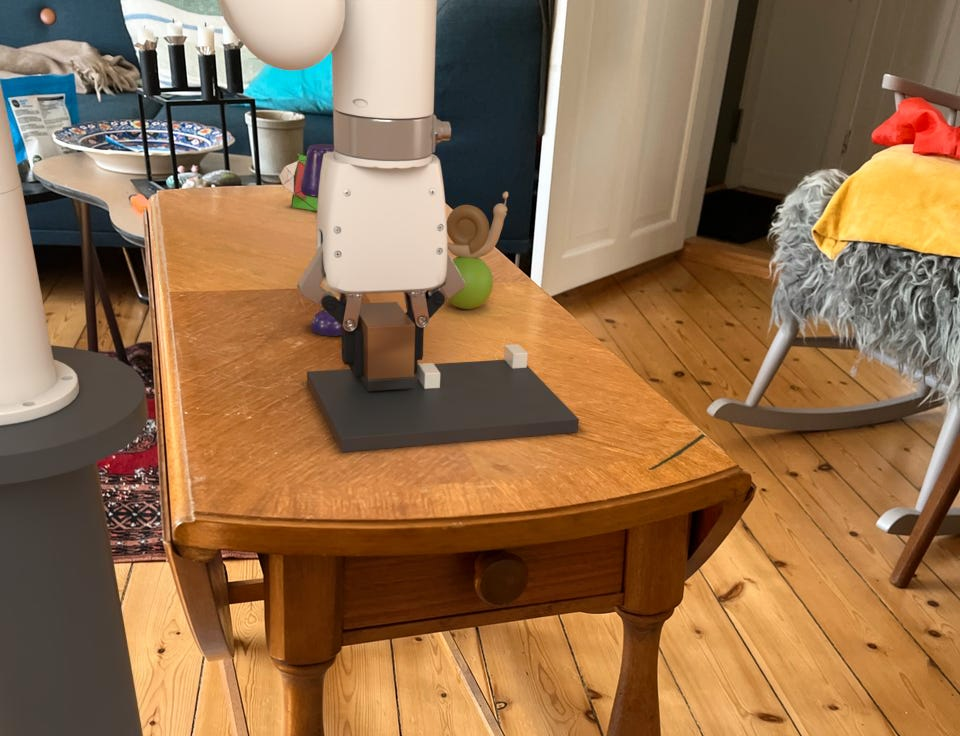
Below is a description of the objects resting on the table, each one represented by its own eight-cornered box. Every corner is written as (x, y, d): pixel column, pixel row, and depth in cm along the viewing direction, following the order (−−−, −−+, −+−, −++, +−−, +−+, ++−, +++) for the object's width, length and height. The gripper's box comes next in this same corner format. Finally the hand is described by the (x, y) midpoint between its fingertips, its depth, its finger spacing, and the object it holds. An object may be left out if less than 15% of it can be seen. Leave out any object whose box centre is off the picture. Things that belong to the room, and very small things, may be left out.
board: (341, 452, 80) (340, 438, 79) (307, 384, 91) (306, 371, 90) (577, 432, 86) (579, 419, 85) (519, 370, 97) (520, 358, 96)
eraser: (368, 391, 86) (367, 327, 83) (352, 365, 91) (351, 303, 88) (413, 388, 88) (415, 324, 84) (396, 363, 92) (396, 301, 89)
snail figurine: (495, 319, 108) (504, 198, 101) (436, 312, 109) (440, 191, 102) (503, 304, 112) (512, 186, 105) (446, 297, 113) (450, 180, 106)
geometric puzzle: (305, 180, 145) (285, 135, 138) (349, 187, 143) (331, 142, 136) (286, 221, 143) (265, 178, 136) (330, 228, 141) (310, 185, 134)
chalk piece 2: (512, 368, 94) (513, 353, 93) (503, 359, 95) (504, 344, 95) (526, 368, 94) (528, 353, 93) (517, 358, 96) (518, 343, 95)
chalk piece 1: (424, 389, 88) (424, 373, 88) (417, 378, 90) (417, 363, 89) (440, 388, 89) (440, 372, 88) (432, 377, 91) (433, 362, 90)
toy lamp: (298, 331, 101) (291, 147, 92) (317, 317, 105) (311, 138, 96) (344, 339, 101) (341, 153, 91) (361, 324, 104) (360, 144, 95)
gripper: (472, 129, 84) (461, 349, 94) (264, 128, 79) (277, 360, 89) (503, 148, 78) (487, 380, 89) (281, 148, 73) (293, 393, 84)
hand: (382, 367), depth 89 cm, fingers closed on eraser, 4 cm apart
